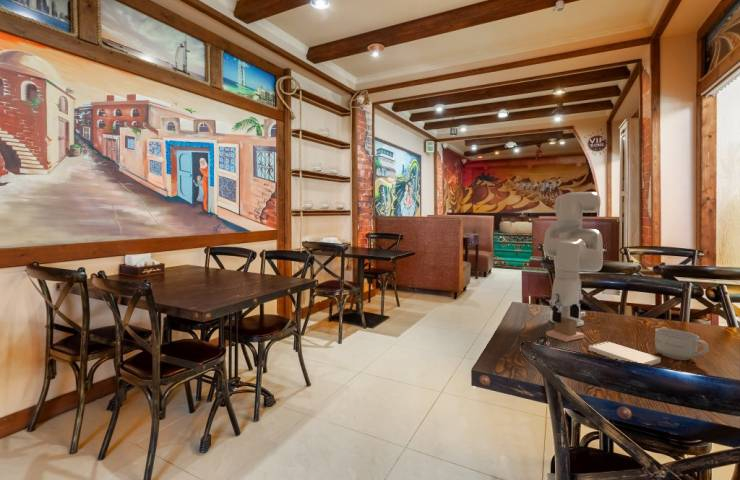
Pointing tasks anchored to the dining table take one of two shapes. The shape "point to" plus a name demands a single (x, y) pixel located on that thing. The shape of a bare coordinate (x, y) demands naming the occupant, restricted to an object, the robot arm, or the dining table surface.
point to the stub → (565, 330)
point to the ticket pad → (623, 353)
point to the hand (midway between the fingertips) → (565, 319)
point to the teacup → (678, 344)
